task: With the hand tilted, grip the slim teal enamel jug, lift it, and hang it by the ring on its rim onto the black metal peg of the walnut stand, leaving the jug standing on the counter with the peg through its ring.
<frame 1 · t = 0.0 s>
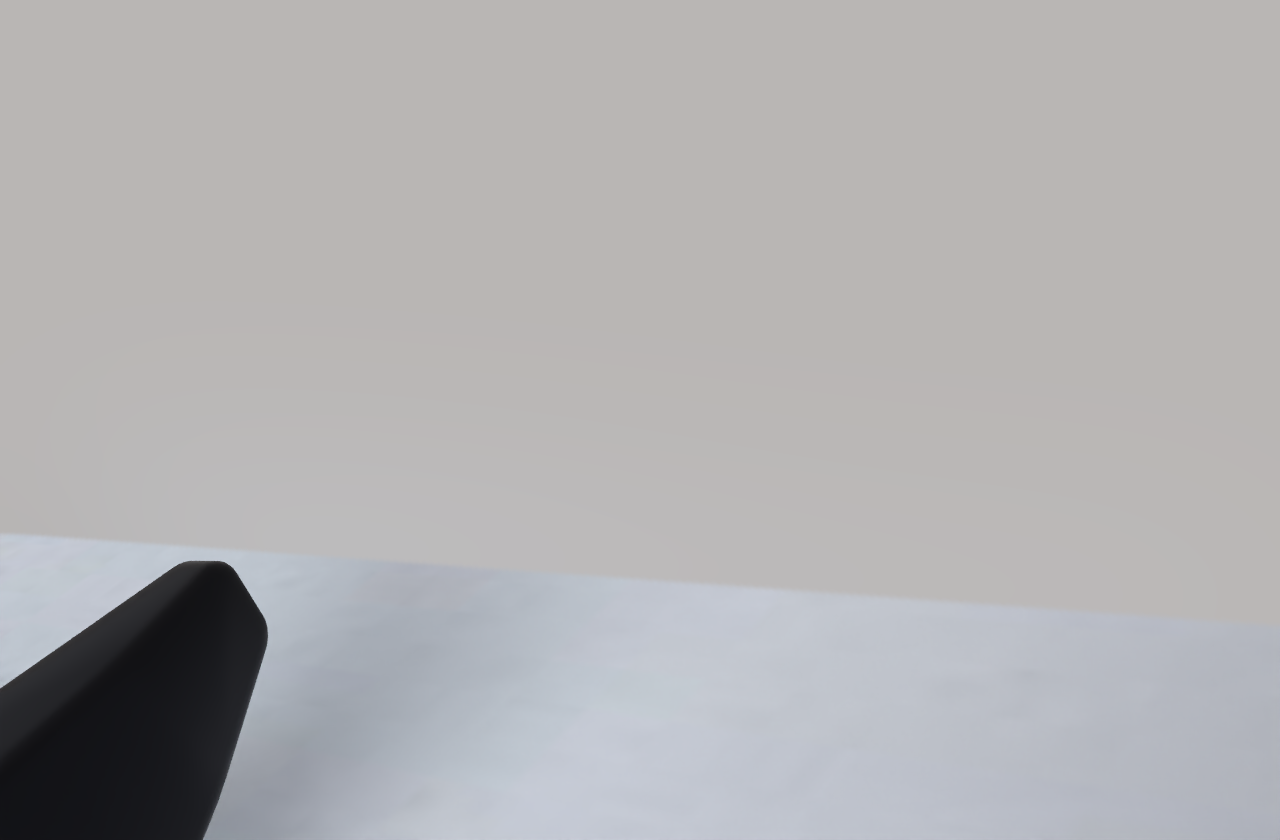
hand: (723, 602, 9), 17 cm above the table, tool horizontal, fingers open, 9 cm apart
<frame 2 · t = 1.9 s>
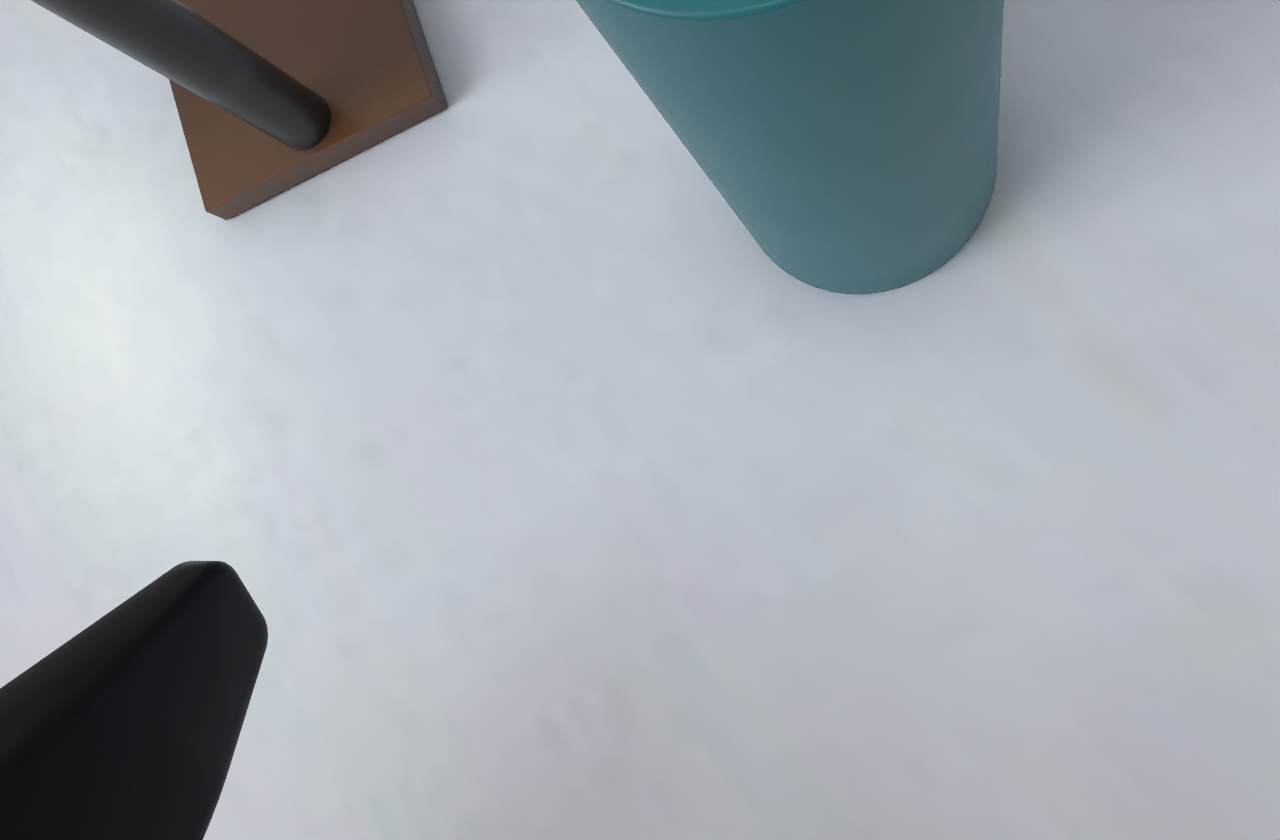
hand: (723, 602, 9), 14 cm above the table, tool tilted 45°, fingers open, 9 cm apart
jug: (863, 170, 23), on the table
peg stand: (324, 133, 27), on the table
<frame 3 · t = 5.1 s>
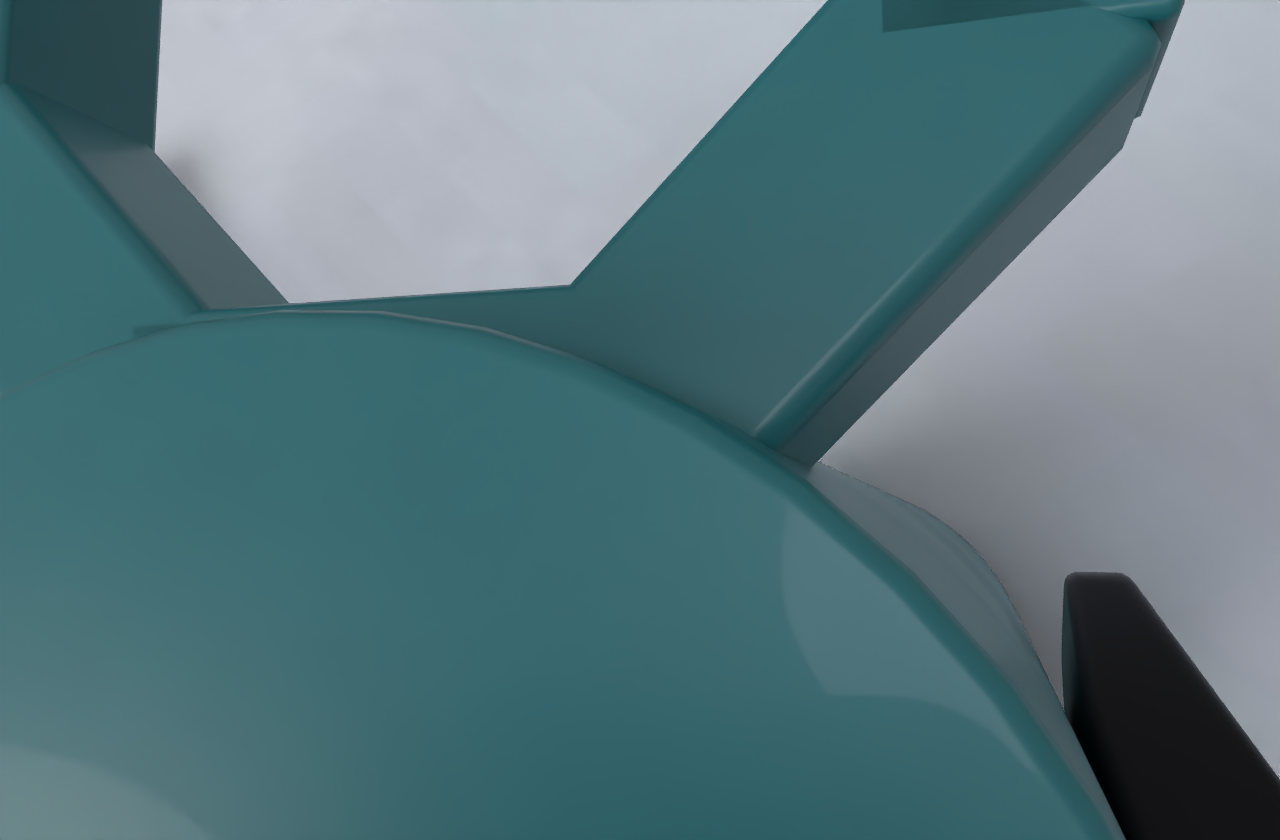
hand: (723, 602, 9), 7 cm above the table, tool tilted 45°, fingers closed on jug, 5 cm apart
jug: (828, 677, 15), on the table, touching gripper
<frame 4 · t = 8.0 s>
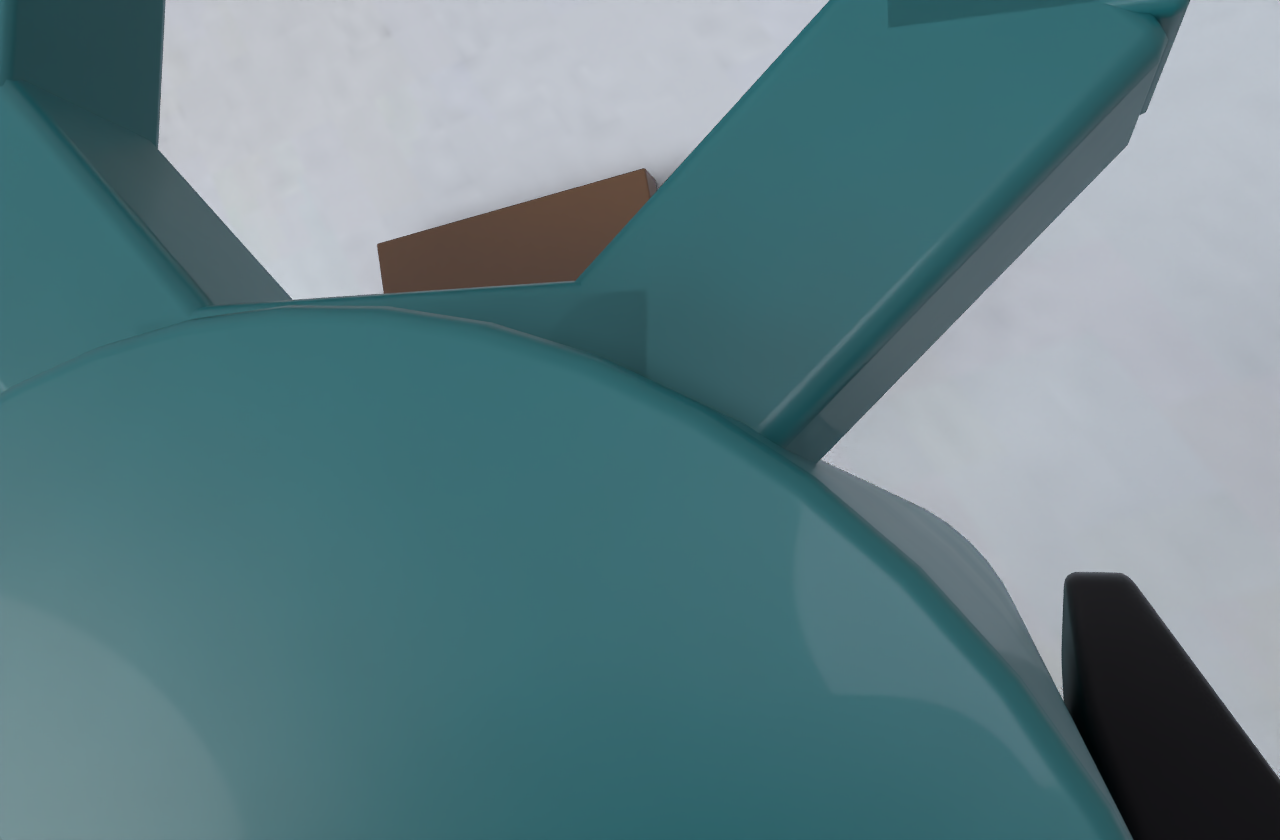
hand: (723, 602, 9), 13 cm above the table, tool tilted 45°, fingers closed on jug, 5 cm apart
jug: (830, 676, 15), point 7 cm above the table, touching gripper
peg stand: (556, 439, 24), on the table
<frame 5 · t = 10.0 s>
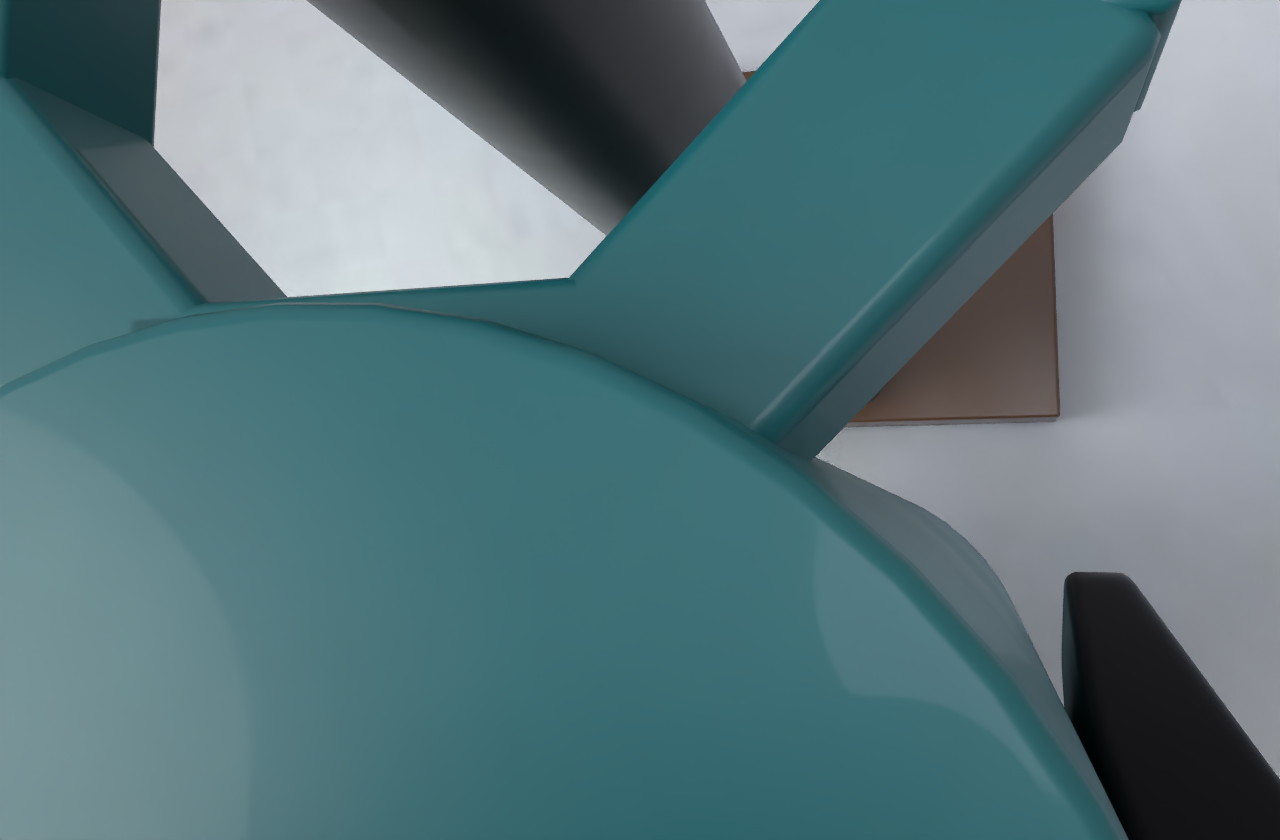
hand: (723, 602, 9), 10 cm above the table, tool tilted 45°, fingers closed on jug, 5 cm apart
jug: (829, 675, 15), point 3 cm above the table, touching gripper
peg stand: (850, 373, 18), on the table
when the fingers open (7 cm above the table, at t = 11.4 s): jug stays where it is, on the table.
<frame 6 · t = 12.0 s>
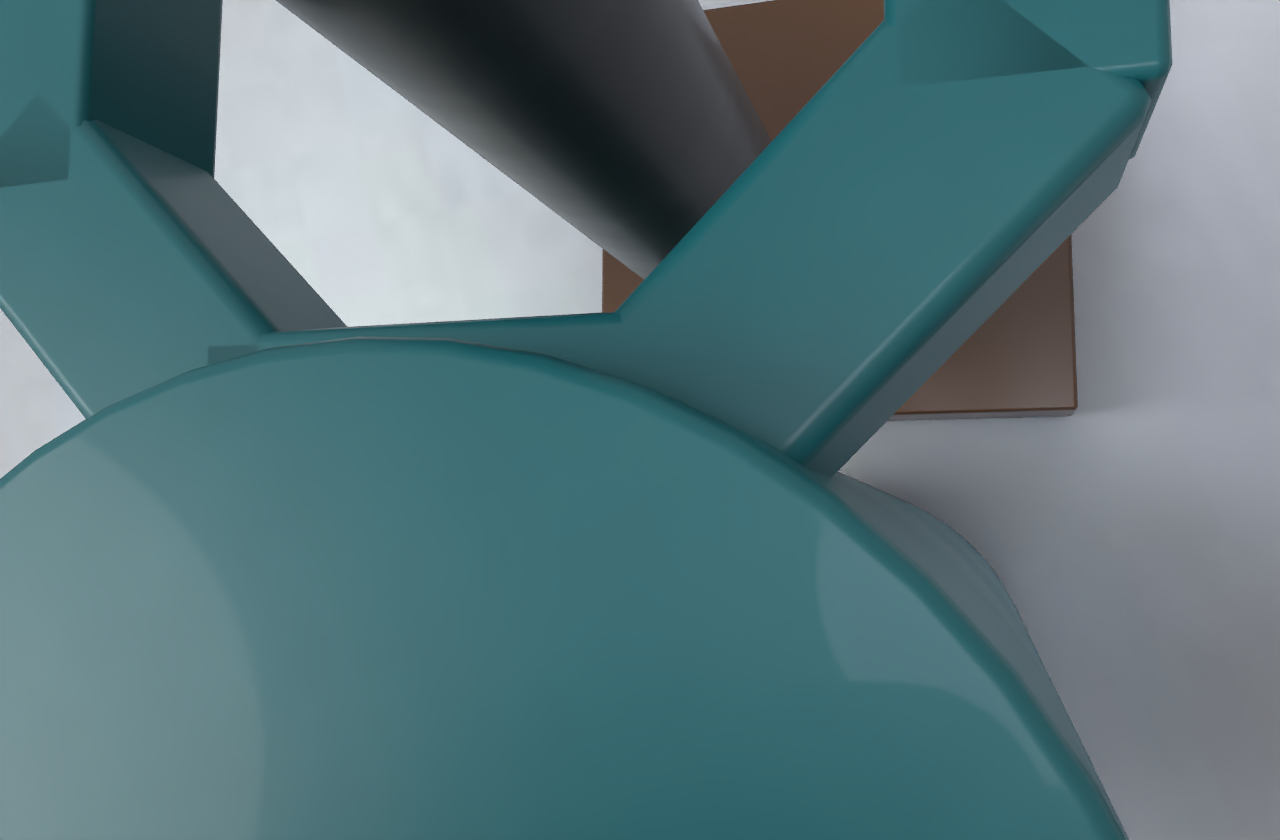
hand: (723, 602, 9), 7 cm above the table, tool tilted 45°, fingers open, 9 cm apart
jug: (834, 675, 15), on the table
peg stand: (830, 359, 16), on the table
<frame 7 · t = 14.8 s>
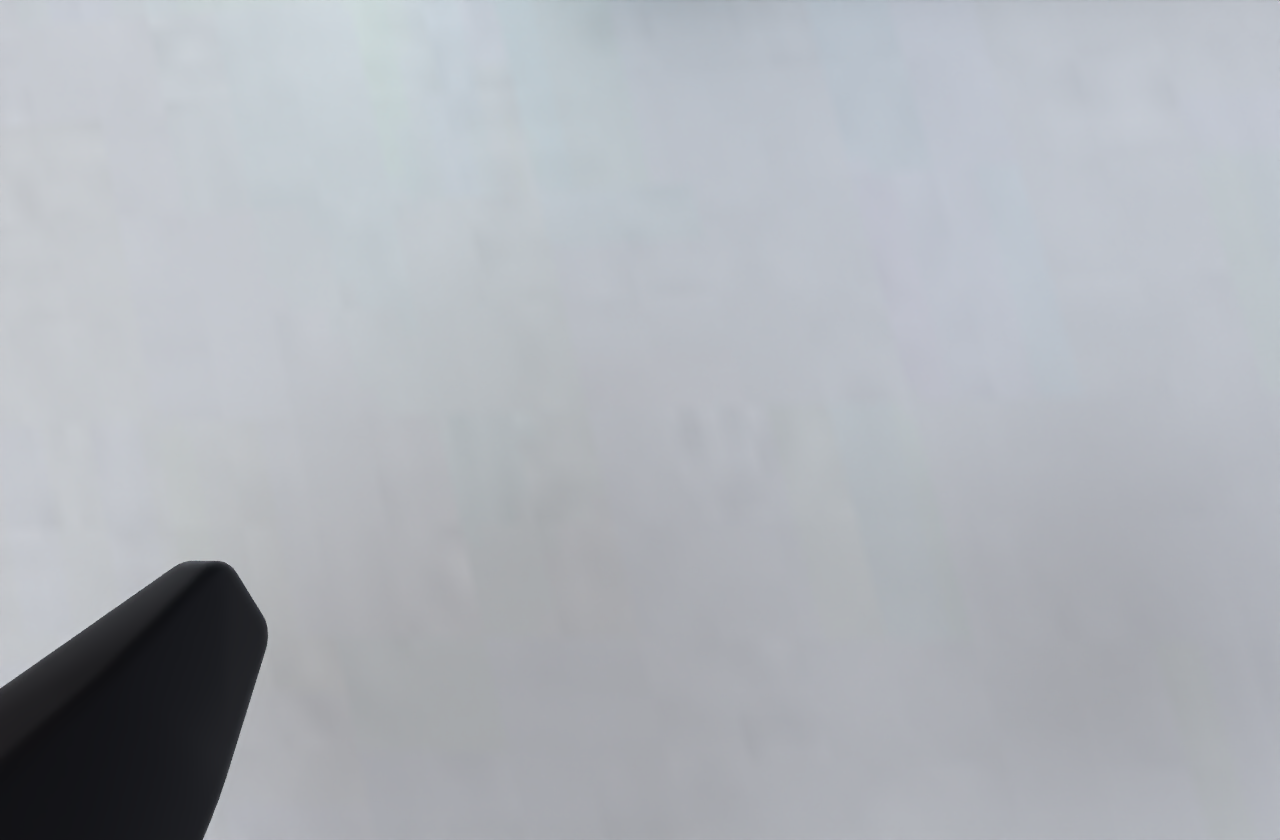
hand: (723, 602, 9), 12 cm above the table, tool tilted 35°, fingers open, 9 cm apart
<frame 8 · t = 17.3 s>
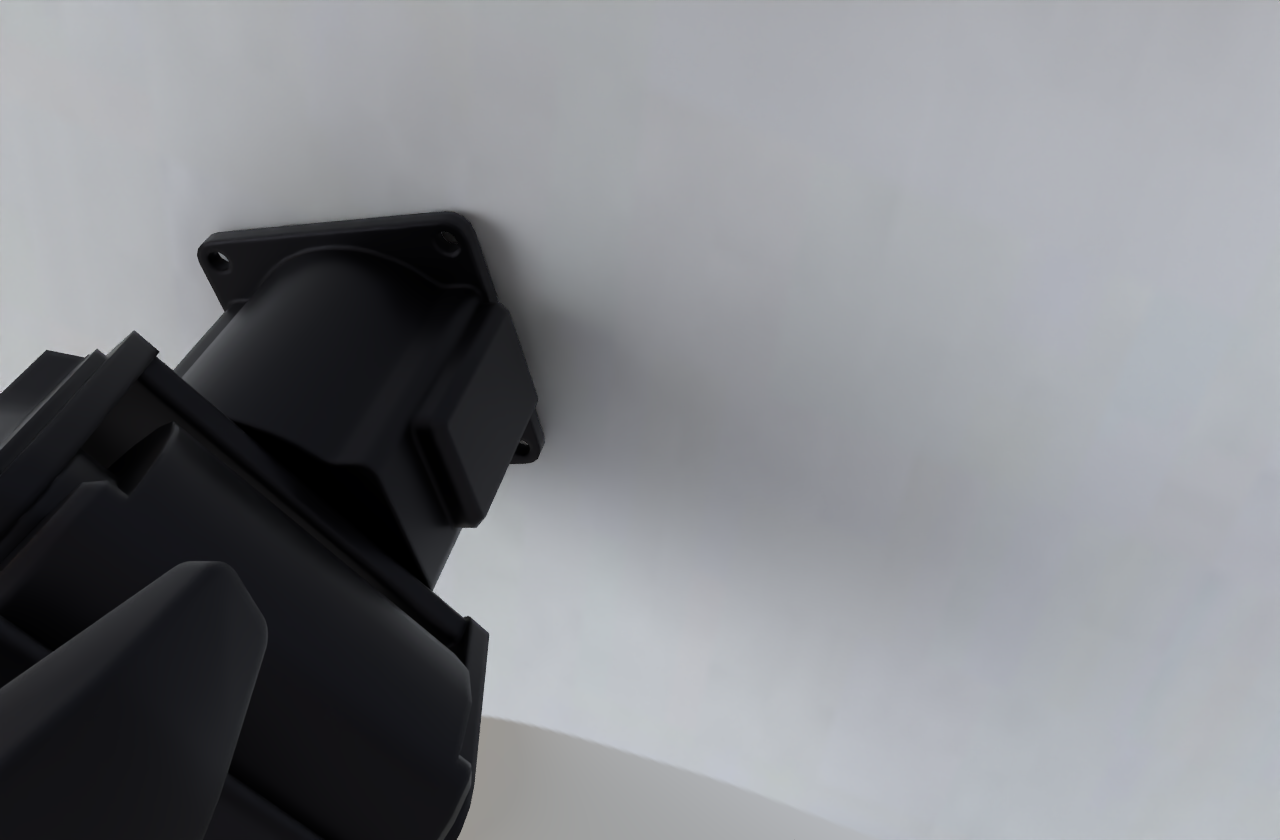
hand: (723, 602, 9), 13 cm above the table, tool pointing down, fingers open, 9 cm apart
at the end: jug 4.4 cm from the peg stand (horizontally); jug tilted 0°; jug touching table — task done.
